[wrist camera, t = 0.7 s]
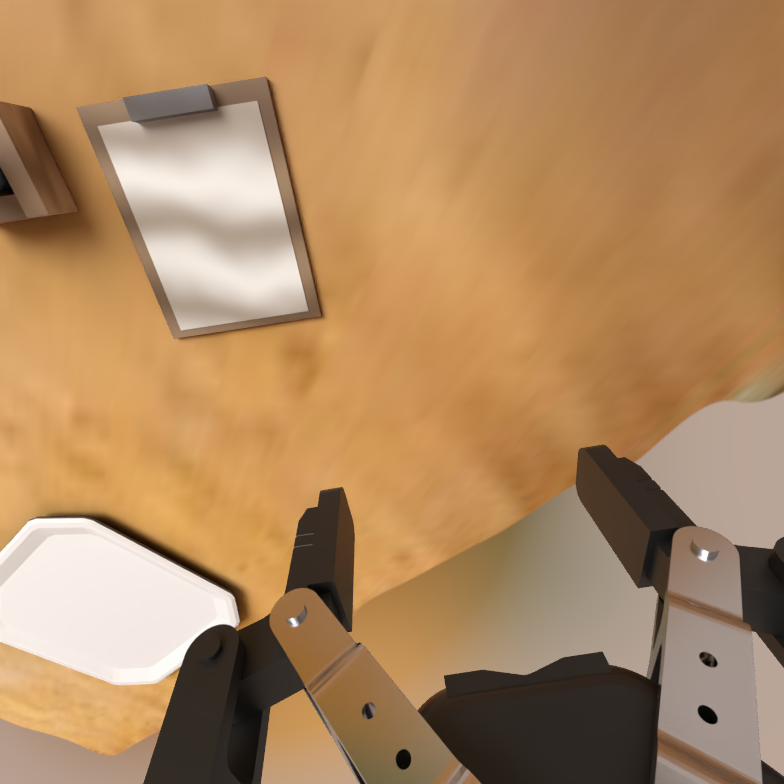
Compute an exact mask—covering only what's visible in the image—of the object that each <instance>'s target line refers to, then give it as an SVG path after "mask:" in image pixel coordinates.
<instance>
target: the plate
mask: <svg viewBox="0 0 784 784" xmlns="http://www.w3.org/2000/svg"><path fill="white" fill-rule="evenodd" d="M239 622H240V616H239V611H238V607H237V602H236V598H235V595H234V594H233V593H232V591H230V590H228V589H226V588H224V587H222V586H220V585H219V584H217V583H215V582H213V581H211V580H209V579H207V578H205V577H204V576H202V575H200V574H198V573H196V572H194V571H192V570H190V569H189V568H187V567H185V566H183V565H181V564H179V563H177V562H175V561H173V560H172V559H170V558H168V557H166V556H164V555H162V554H160V553H158V552H157V551H155V550H153V549H151V548H149V547H147V546H145V545H143V544H142V543H140V542H138V541H136V540H134V539H132V538H130V537H128V536H127V535H125V534H123V533H121V532H119V531H117V530H115V529H113V528H112V527H110V526H108V525H106V524H104V523H102V522H100V521H98V520H96V519H95V518H91V517H87V516H56V517H36V518H34V519H31V520H29V521H28V523H27V524H26V525H25V526H24V527H23V528H22V529H21V530H20V531H19V532H18V534H17V535H16V536H15V537H14V538H13V539H12V540H11V541H10V542H9V543H8V545H7V546H6V547H5V548H4V549H3V550H2V551H1V552H0V642H2V643H5V644H8V645H10V646H13V647H16V648H18V649H21V650H24V651H26V652H29V653H32V654H34V655H37V656H40V657H42V658H45V659H48V660H50V661H53V662H56V663H58V664H61V665H64V666H66V667H69V668H72V669H74V670H77V671H80V672H82V673H85V674H88V675H90V676H93V677H96V678H98V679H101V680H104V681H106V682H109V683H112V684H115V685H136V684H154V683H158V682H160V681H162V680H163V679H165V678H166V677H167V676H169V675H170V674H172V673H173V672H174V671H176V670H177V669H178V668H180V667H181V665H182V662H183V659H184V656H185V653H186V651H187V649H188V648H189V646H190V645H191V643H192V642H193V641H194V640H195V639H196V638H197V637H198V636H199V635H200V634H201V633H202V632H204V631H205V630H207V629H208V628H210V627H213V626H216V625H220V624H227V625H231V626H232V627H234V628H235V627H236V626H238V624H239Z"/></svg>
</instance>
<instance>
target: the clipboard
mask: <svg viewBox="0 0 784 784" xmlns="http://www.w3.org/2000/svg"><path fill="white" fill-rule="evenodd" d="M76 109H77V111H78V113H79V116H80V118H81V120H82V123H83V125H84V127H85V130H86V132H87V135H88V137H89V139H90V142H91V144H92V146H93V149H94V151H95V153H96V156H97V158H98V161H99V163H100V165H101V168H102V170H103V172H104V175H105V177H106V180H107V182H108V184H109V187H110V189H111V191H112V194H113V196H114V198H115V201H116V203H117V206H118V208H119V210H120V213H121V215H122V217H123V220H124V222H125V224H126V227H127V229H128V232H129V234H130V236H131V239H132V241H133V243H134V246H135V248H136V251H137V253H138V255H139V258H140V260H141V262H142V265H143V267H144V269H145V272H146V274H147V277H148V279H149V281H150V284H151V286H152V288H153V291H154V293H155V295H156V298H157V300H158V303H159V305H160V307H161V310H162V312H163V314H164V317H165V319H166V321H167V324H168V326H169V329H170V331H171V333H172V336H173V338H174V339H176V338H182V337H189V336H195V335H202V334H209V333H215V332H222V331H228V330H235V329H241V328H248V327H254V326H261V325H267V324H274V323H280V322H287V321H294V320H300V319H307V318H313V317H320V316H321V310H320V306H319V302H318V297H317V293H316V288H315V284H314V280H313V275H312V271H311V267H310V262H309V258H308V253H307V249H306V245H305V240H304V236H303V232H302V227H301V223H300V219H299V214H298V210H297V205H296V201H295V197H294V192H293V188H292V184H291V179H290V175H289V170H288V166H287V162H286V157H285V153H284V149H283V144H282V140H281V135H280V131H279V127H278V122H277V118H276V114H275V109H274V105H273V101H272V96H271V92H270V87H269V83H268V79H267V77H262V78H256V79H249V80H243V81H237V82H231V83H225V84H218V85H212V86H209V85H207V84H205V85H198V86H192V87H186V88H180V89H174V90H167V91H161V92H155V93H149V94H143V95H136V96H130V97H124V98H123V100H119V101H113V102H107V103H101V104H94V105H88V106H82V107H76Z"/></svg>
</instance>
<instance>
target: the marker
mask: <svg viewBox="0 0 784 784" xmlns="http://www.w3.org/2000/svg"><path fill="white" fill-rule="evenodd" d="M0 193H14V192H13V190H12V188H11V186H10V184H9V182H8V180H7V178H6V176H5V175H4V173H3V171H2V169H1V167H0Z"/></svg>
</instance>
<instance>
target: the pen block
mask: <svg viewBox="0 0 784 784" xmlns="http://www.w3.org/2000/svg"><path fill="white" fill-rule="evenodd" d="M0 167H1V169H2V171H3V173H4V175H5V176H6V178H7V180H8V182H9V184H10V186H11V188H12V190H13V192H14V194H13V195H7V196H1V197H0V224H2V223H8V222H14V221H21V220H27V219H33V218H40V217H46V216H52V215H59V214H65V213H72V212H78V209H77V207H76V205H75V203H74V201H73V198H72V196H71V194H70V192H69V190H68V188H67V186H66V183H65V181H64V179H63V177H62V175H61V173H60V171H59V168H58V166H57V164H56V162H55V160H54V158H53V156H52V153H51V151H50V149H49V147H48V145H47V143H46V141H45V139H44V136H43V134H42V132H41V130H40V128H39V126H38V124H37V121H36V119H35V117H34V115H33V113H32V111H31V109H30V108H29V107H24V106H19V105H14V104H10V103H5V102H0Z"/></svg>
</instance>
